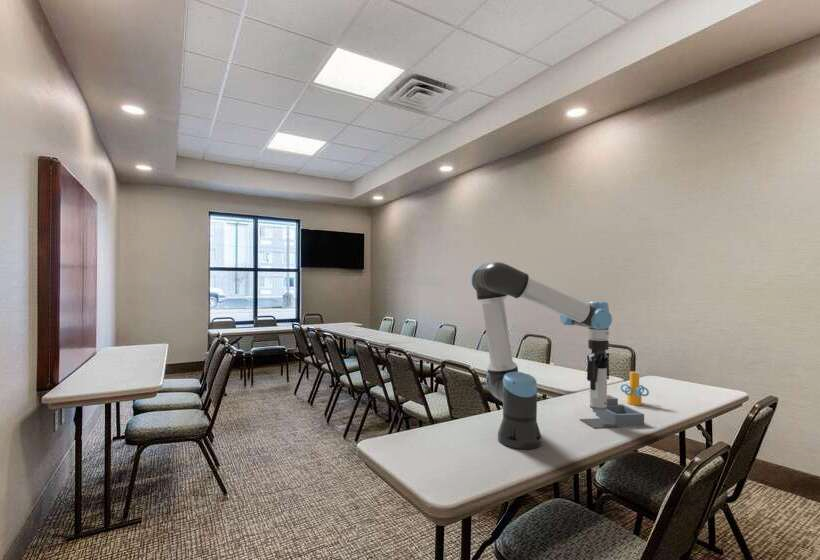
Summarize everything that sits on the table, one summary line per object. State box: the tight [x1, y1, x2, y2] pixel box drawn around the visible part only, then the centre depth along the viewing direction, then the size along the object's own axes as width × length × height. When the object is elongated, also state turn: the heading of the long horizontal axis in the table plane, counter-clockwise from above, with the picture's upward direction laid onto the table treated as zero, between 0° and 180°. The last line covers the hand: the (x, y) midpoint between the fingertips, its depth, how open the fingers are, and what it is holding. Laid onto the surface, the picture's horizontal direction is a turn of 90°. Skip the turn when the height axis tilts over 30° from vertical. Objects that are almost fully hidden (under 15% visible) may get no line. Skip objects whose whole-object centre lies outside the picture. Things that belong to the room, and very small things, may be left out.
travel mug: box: [589, 359, 608, 410], centre depth 162 cm, size 6×7×20 cm
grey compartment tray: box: [592, 394, 645, 427], centre depth 169 cm, size 12×19×7 cm, turn 8°
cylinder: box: [620, 371, 650, 406], centre depth 190 cm, size 12×10×15 cm
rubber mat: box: [579, 417, 618, 429], centre depth 162 cm, size 10×10×1 cm
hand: (598, 396), depth 162 cm, fingers closed on travel mug, 6 cm apart
